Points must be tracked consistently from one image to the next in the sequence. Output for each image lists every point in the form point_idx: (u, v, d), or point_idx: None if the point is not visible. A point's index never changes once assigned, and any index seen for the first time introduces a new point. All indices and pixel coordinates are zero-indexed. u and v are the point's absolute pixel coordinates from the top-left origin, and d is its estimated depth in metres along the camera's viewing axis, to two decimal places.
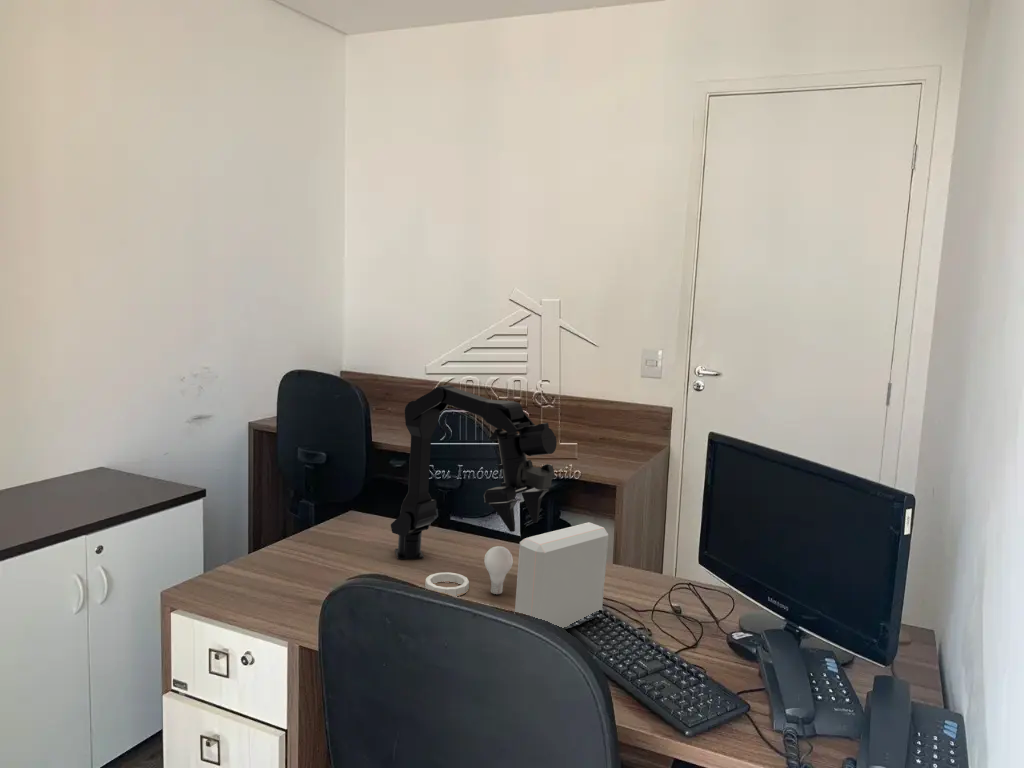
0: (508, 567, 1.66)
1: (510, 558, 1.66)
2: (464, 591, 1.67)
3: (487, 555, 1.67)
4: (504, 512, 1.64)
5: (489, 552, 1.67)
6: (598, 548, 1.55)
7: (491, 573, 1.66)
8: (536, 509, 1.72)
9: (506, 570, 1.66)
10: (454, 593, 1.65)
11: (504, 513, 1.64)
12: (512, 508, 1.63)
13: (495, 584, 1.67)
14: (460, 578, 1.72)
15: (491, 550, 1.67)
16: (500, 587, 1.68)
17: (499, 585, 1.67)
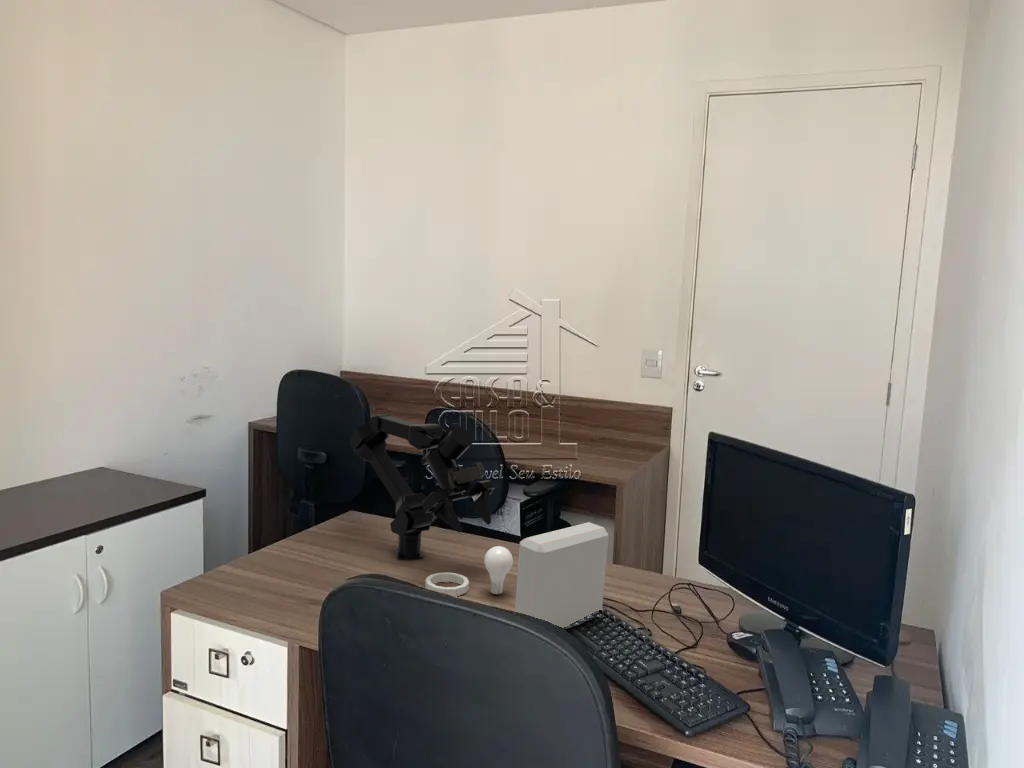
0: (508, 567, 1.66)
1: (510, 558, 1.66)
2: (464, 591, 1.67)
3: (487, 555, 1.67)
4: (447, 516, 1.70)
5: (489, 552, 1.67)
6: (598, 548, 1.55)
7: (491, 573, 1.66)
8: (485, 511, 1.76)
9: (506, 570, 1.66)
10: (454, 593, 1.65)
11: (447, 517, 1.70)
12: (451, 508, 1.70)
13: (495, 584, 1.67)
14: (460, 578, 1.72)
15: (491, 550, 1.67)
16: (500, 587, 1.68)
17: (499, 585, 1.67)
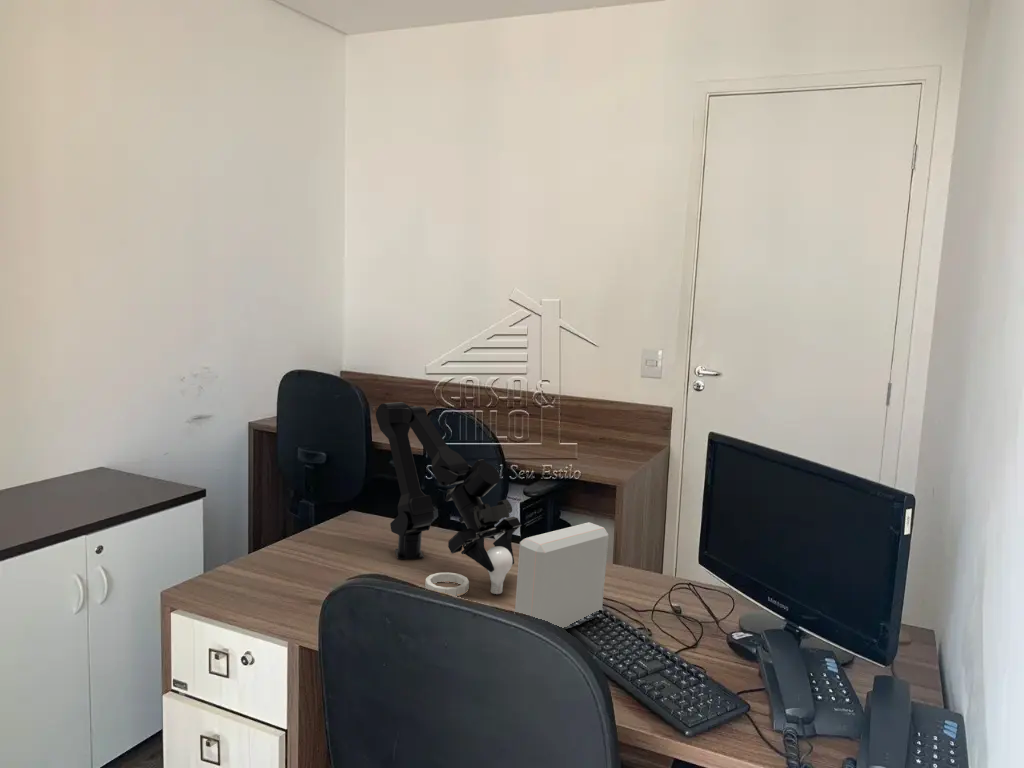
0: (508, 567, 1.66)
1: (510, 558, 1.66)
2: (464, 591, 1.67)
3: None
4: (478, 555, 1.66)
5: (489, 552, 1.67)
6: (598, 548, 1.55)
7: (491, 573, 1.66)
8: None
9: (506, 570, 1.66)
10: (454, 593, 1.65)
11: (478, 556, 1.66)
12: (482, 547, 1.65)
13: (495, 584, 1.67)
14: (460, 578, 1.72)
15: (491, 550, 1.67)
16: (500, 587, 1.68)
17: (499, 585, 1.67)
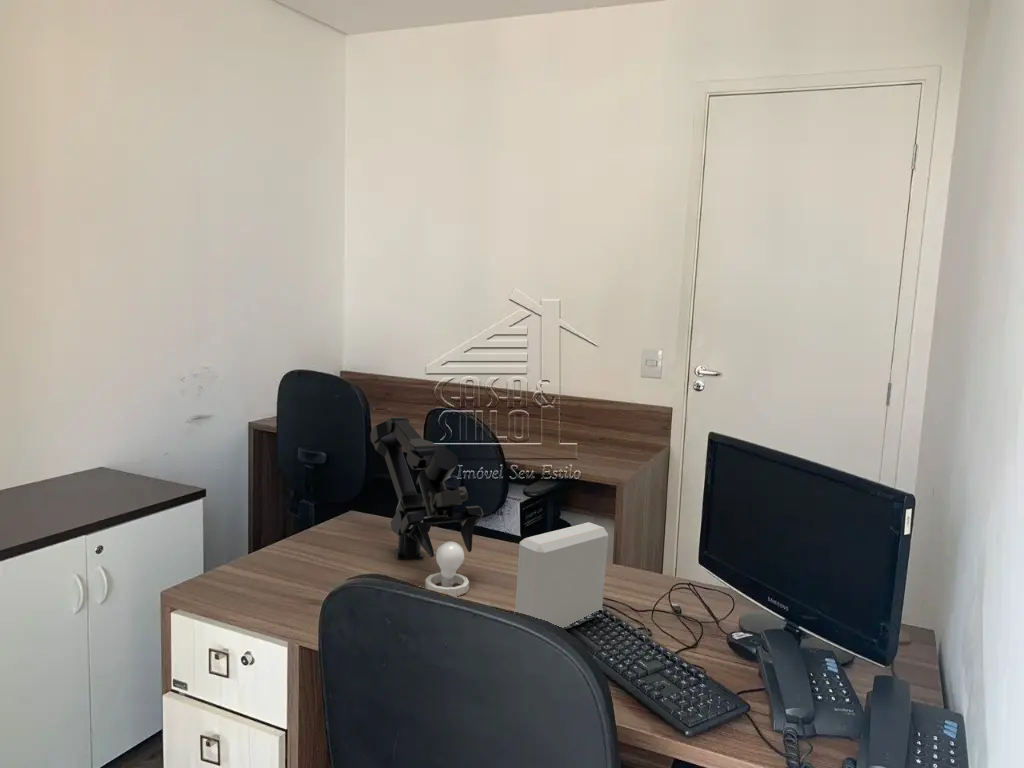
0: (455, 564, 1.66)
1: (458, 555, 1.66)
2: (464, 591, 1.67)
3: (438, 548, 1.68)
4: (422, 539, 1.67)
5: (440, 546, 1.68)
6: (598, 548, 1.55)
7: (440, 567, 1.68)
8: (468, 537, 1.71)
9: (453, 566, 1.66)
10: (454, 593, 1.65)
11: (422, 540, 1.67)
12: (425, 531, 1.66)
13: (444, 578, 1.68)
14: (460, 578, 1.72)
15: (442, 544, 1.68)
16: (449, 582, 1.69)
17: (447, 580, 1.68)
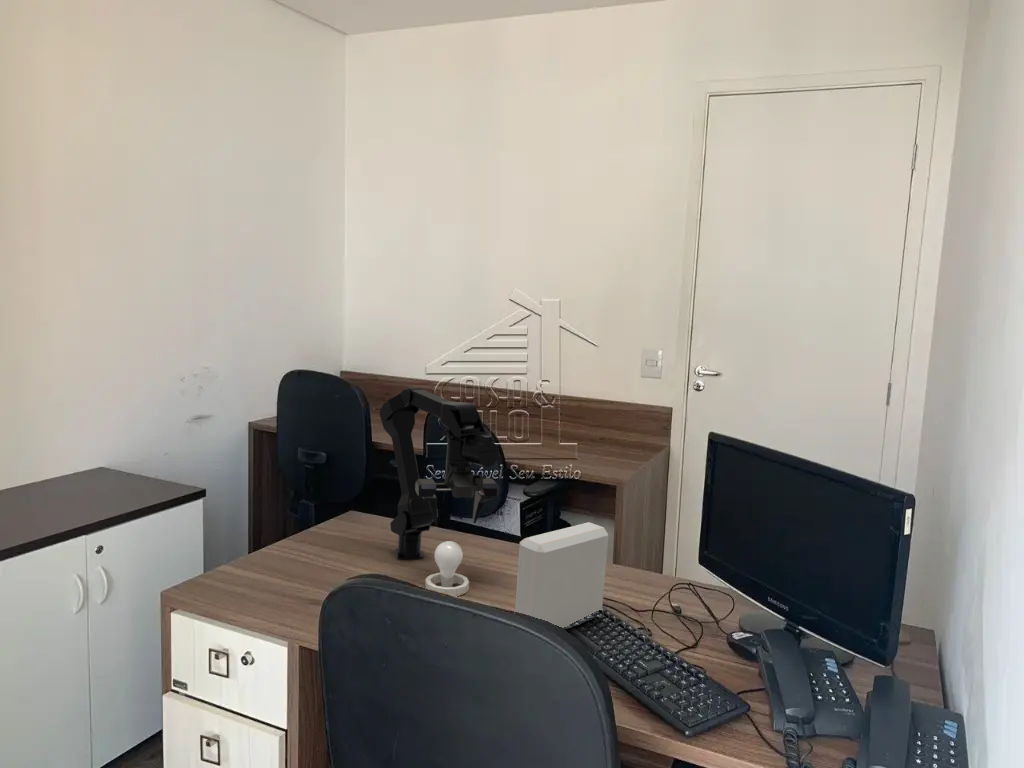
0: (453, 563, 1.66)
1: (457, 554, 1.67)
2: (464, 591, 1.67)
3: (436, 548, 1.69)
4: None
5: (438, 546, 1.68)
6: (598, 548, 1.55)
7: (439, 567, 1.68)
8: (475, 511, 1.76)
9: (451, 565, 1.67)
10: (454, 593, 1.65)
11: None
12: (434, 503, 1.72)
13: (443, 578, 1.69)
14: (460, 578, 1.72)
15: (440, 544, 1.69)
16: (448, 582, 1.69)
17: (447, 580, 1.68)
